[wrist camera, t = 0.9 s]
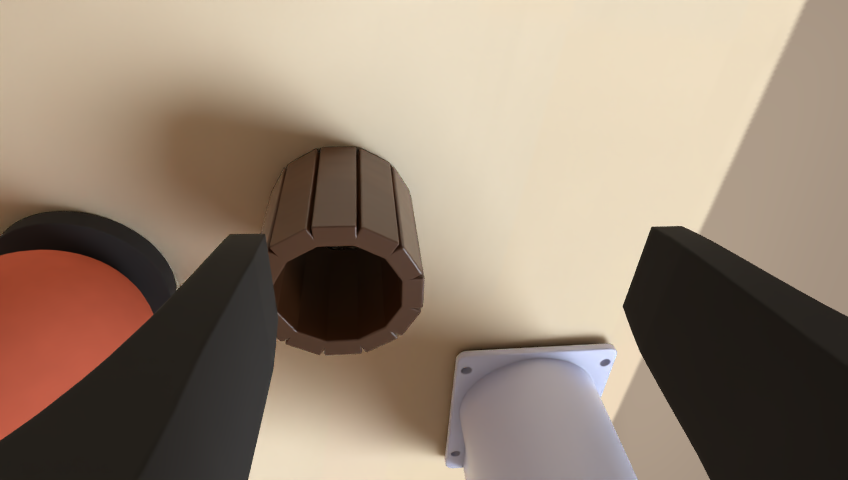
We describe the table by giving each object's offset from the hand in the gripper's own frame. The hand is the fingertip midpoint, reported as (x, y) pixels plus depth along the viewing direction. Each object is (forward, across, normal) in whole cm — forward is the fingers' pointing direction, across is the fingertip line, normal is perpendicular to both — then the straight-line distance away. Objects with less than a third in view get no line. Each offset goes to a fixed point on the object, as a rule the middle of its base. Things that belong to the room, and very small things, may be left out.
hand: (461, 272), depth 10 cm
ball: (+10, +13, +8) cm, 18 cm away
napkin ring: (+10, +3, +4) cm, 11 cm away
